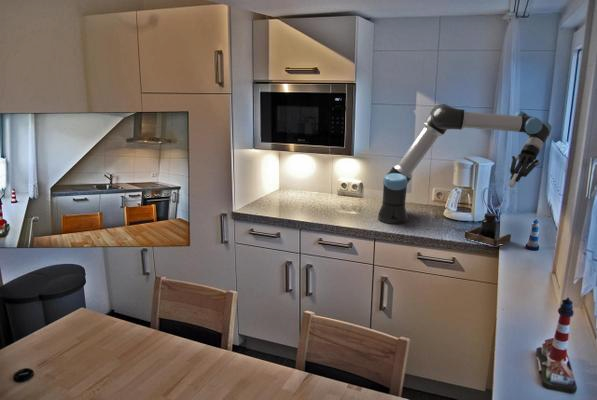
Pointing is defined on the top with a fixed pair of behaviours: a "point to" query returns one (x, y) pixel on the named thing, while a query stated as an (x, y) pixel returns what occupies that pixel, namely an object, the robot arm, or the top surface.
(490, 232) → the supplement bottle
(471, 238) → the walnut bay
